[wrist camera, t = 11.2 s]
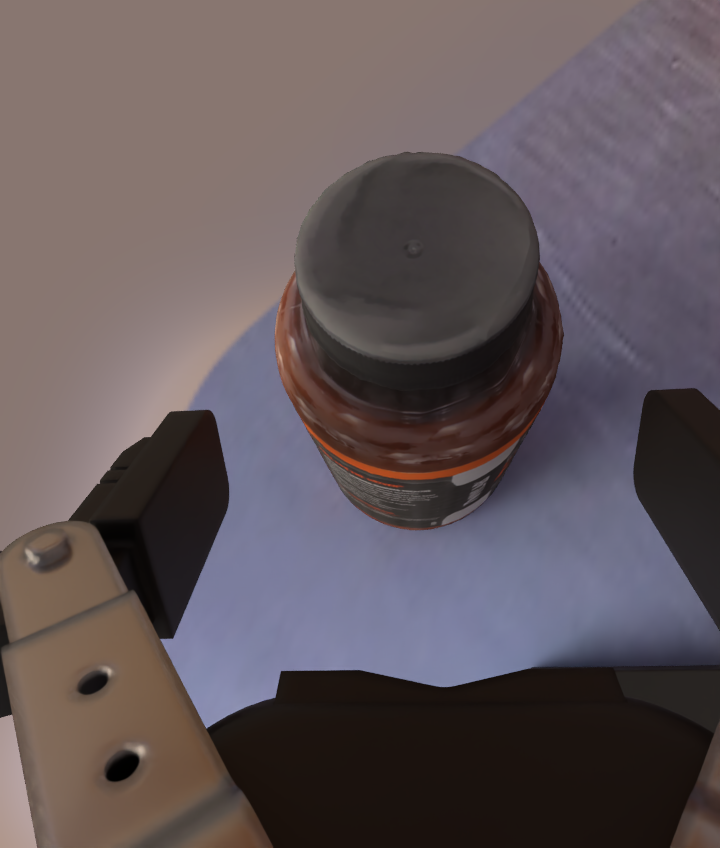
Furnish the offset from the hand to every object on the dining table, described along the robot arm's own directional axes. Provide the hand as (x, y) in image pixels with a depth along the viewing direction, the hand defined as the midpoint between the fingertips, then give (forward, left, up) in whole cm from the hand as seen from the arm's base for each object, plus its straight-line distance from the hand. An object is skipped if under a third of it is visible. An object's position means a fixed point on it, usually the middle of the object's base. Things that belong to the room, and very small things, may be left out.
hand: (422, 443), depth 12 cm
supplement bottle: (0, +2, -9) cm, 9 cm away
